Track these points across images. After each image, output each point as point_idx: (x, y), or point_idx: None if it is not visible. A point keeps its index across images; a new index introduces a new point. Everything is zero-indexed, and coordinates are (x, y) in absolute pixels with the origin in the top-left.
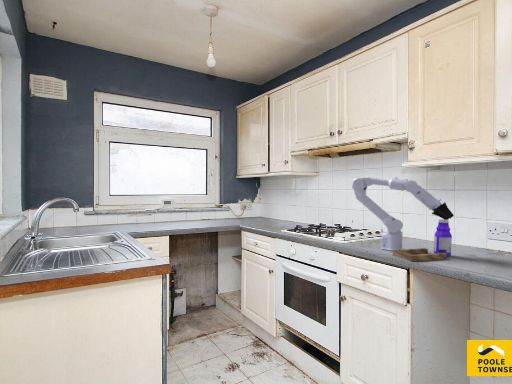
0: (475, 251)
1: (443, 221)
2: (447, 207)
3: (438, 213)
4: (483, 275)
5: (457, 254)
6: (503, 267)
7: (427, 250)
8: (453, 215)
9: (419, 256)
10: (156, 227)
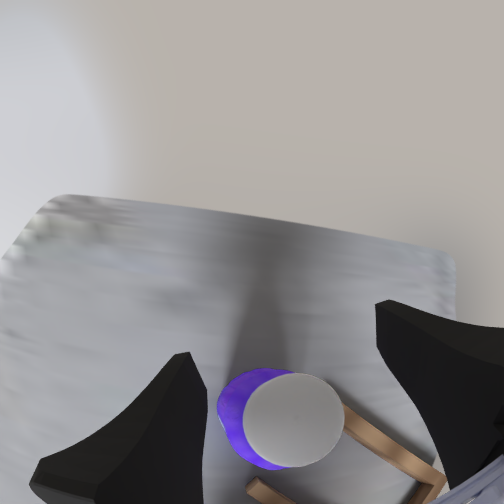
0: (81, 276)
1: (339, 416)
2: (487, 329)
3: (188, 490)
4: (453, 291)
5: None
6: (332, 236)
7: (259, 480)
8: (393, 303)
9: (427, 465)
10: None
